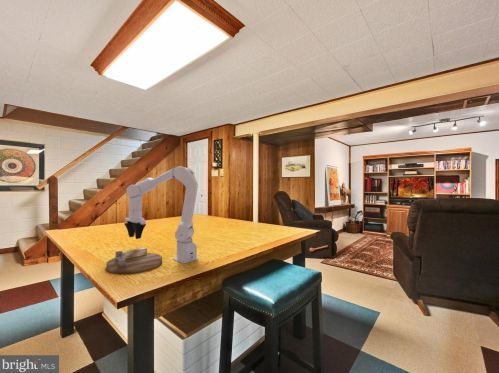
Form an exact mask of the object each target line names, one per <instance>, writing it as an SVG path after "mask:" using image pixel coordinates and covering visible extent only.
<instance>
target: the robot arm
mask: <svg viewBox="0 0 499 373" xmlns="http://www.w3.org/2000/svg"><path fill="white" fill-rule="evenodd" d="M171 179H176V180H177V181H179V182H180V183H182V184H183V186H185V193H184V200H183V206H182V212H181V218H180V222H178V226H177V229H176V231H175V232H174V238H175V239H176V256H175V257H173V258H172V260H173V261H176V262H178V263H182V264H188V263H191V262H195V261H198V260H199V258H197V251H198V247H197V244H196V243H195V242H193V236H194V234H195V229H194V222H193V218H194V212H195V206H196V205H195V204H196V199H197V194H198V193H197V192H198V188H199V186H198V182H197V179H196V176H195V172H194V171H193V170H192V169H191V168H189V167H185V166H182V165H181V166H180V165H178V166H176V167H173V168H171V169H169V170H167V171H165V172H163V173H162V174H160V175H157V176H156V177H154V178H152V177H145V178H144V180H142V181H139V182H135V184H130V185H129V186H127V187H126V189H125V190H126V191H125V192H126V195H127V196H128V217H125V220H124V221H125V223H124V226H125V227H126V230H127V233H128V238H133V237H135V239H136V240H139V239H141V238H142V236H143V231H144V229H145V228H146V225H147V224H146V223H147V222H146V220H147V219H144V217H142V216H143V215H142V214H143V213H142V212H143V210H142V208H143V204H142V203H143V202H142V200H143V196H144V194H146V193H148V192H151V191H152V190H154V189H156V188H157V186H158V185H159V184H161V183H164V182H166V181H169V180H171Z"/></svg>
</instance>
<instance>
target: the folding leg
mask: <svg viewBox="0 0 499 373" xmlns="http://www.w3.org/2000/svg"><path fill="white" fill-rule="evenodd" d="M147 253H148V247H145V246H144V247H139V248H134V249H128V250H123V251H122V250H118V251H115V252H114V254H115V257H121V258H123V259H129V258H133V257H138V256H143V255H147ZM115 257H114V258H115Z"/></svg>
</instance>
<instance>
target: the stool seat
mask: <svg viewBox="0 0 499 373" xmlns="http://www.w3.org/2000/svg"><path fill="white" fill-rule="evenodd" d="M105 264H106V265H105V266H106V267H105V268H106V271H107V272H109V273H111V274H115V275H117V274H118V275H132V274H139V273H140V274H141V273H143V272H144V273H145V272H149V271H152V270H154V269H156V268H159V267H160V266H161V265H162V264H163V256H162V255H160V254H158V253H155V252H154V253H153V252H150V253H149V252H147V255H143V256H138V257H133V258H129V259H123V258H121V257H113V258H112V259H110V260H108V261H107V262H106V263H105Z"/></svg>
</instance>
